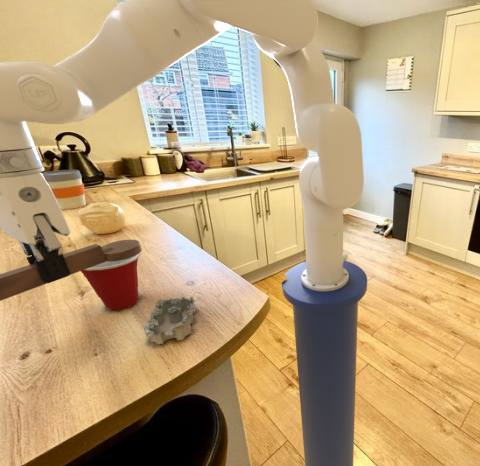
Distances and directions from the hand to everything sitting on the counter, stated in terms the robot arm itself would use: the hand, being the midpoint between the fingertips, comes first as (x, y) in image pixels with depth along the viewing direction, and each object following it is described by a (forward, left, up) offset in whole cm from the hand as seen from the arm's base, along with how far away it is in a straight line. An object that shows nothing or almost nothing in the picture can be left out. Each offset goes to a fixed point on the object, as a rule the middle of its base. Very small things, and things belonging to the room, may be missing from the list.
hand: (54, 276), depth 47 cm
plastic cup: (-11, -8, -15) cm, 20 cm away
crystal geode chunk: (-11, +9, -15) cm, 21 cm away
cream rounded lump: (-33, -58, -15) cm, 69 cm away
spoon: (-3, 0, 0) cm, 3 cm away
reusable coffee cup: (-42, -104, -15) cm, 113 cm away
